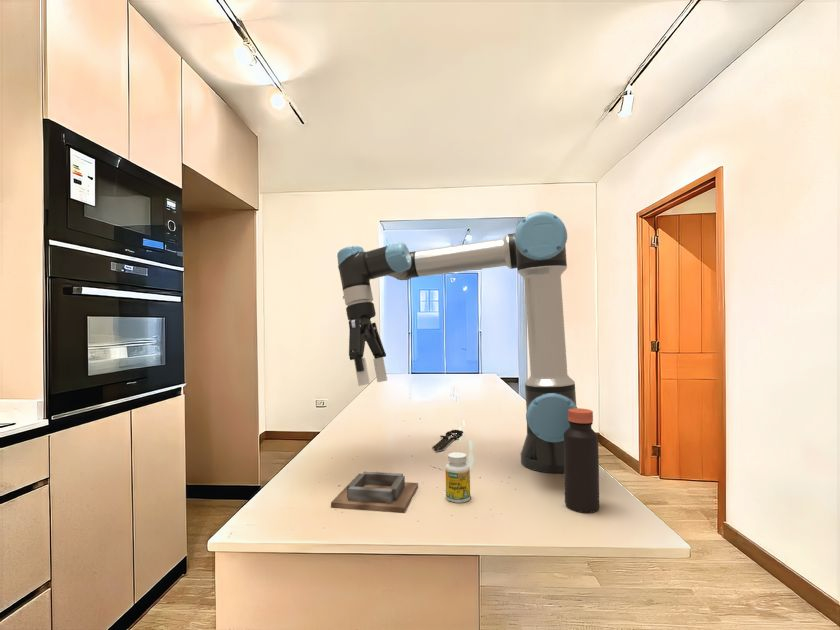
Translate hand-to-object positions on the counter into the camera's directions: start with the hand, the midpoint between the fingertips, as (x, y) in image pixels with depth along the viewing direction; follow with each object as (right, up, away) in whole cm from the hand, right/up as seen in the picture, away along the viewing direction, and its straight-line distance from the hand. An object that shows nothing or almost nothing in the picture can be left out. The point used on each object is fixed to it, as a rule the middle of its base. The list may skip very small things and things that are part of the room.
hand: (373, 383), depth 114 cm
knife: (+21, -24, +28) cm, 43 cm away
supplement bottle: (+20, -23, -18) cm, 35 cm away
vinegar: (+46, -22, -23) cm, 56 cm away
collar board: (+2, -23, -16) cm, 28 cm away
